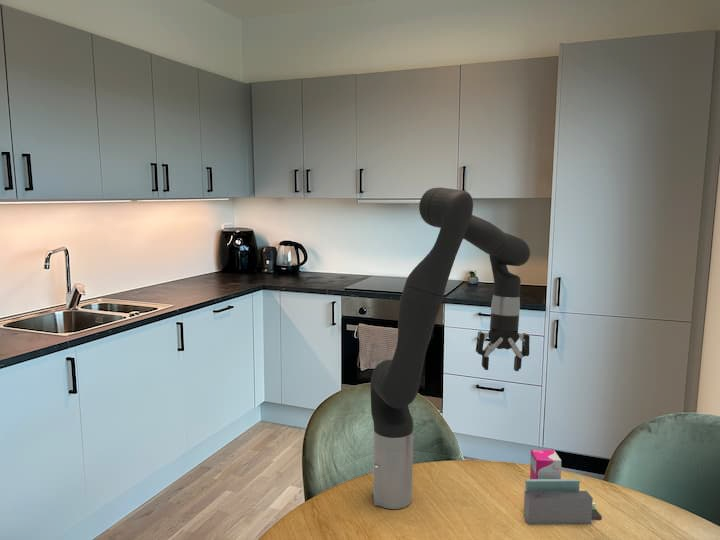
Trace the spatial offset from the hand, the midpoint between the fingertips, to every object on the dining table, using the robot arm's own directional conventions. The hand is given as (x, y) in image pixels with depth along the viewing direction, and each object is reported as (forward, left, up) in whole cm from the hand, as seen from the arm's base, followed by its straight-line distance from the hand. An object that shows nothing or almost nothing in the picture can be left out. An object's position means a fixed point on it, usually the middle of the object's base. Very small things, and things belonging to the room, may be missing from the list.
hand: (501, 369), depth 146 cm
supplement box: (+4, -23, -25) cm, 34 cm away
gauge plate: (+6, -28, -24) cm, 37 cm away
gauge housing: (+6, -28, -25) cm, 38 cm away
